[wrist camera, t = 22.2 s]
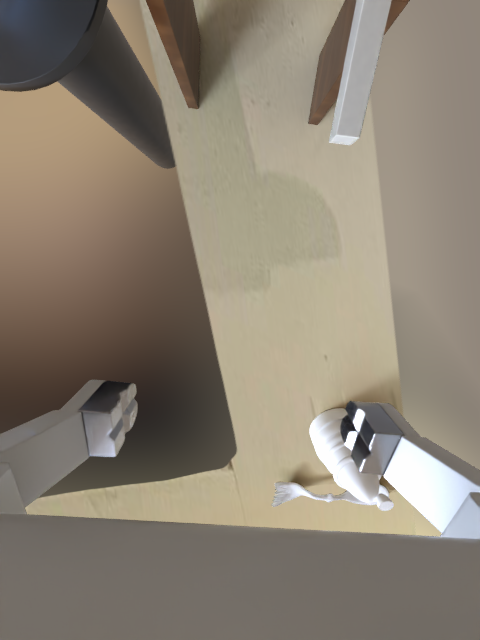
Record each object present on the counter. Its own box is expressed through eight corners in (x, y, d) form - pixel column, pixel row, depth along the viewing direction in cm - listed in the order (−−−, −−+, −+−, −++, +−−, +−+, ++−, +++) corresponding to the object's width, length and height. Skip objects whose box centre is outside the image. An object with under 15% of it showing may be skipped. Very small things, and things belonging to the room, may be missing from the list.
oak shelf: (188, 107, 35) (118, -69, 14) (189, 35, 32) (104, -311, 12) (317, 125, 36) (424, -19, 15) (329, 56, 33) (480, -232, 13)
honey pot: (353, 400, 55) (404, 475, 38) (367, 437, 59) (418, 519, 42) (302, 419, 57) (329, 498, 40) (319, 453, 61) (350, 538, 44)
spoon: (273, 473, 63) (275, 486, 60) (387, 477, 64) (395, 490, 61) (269, 495, 67) (271, 508, 63) (378, 499, 67) (386, 512, 64)
